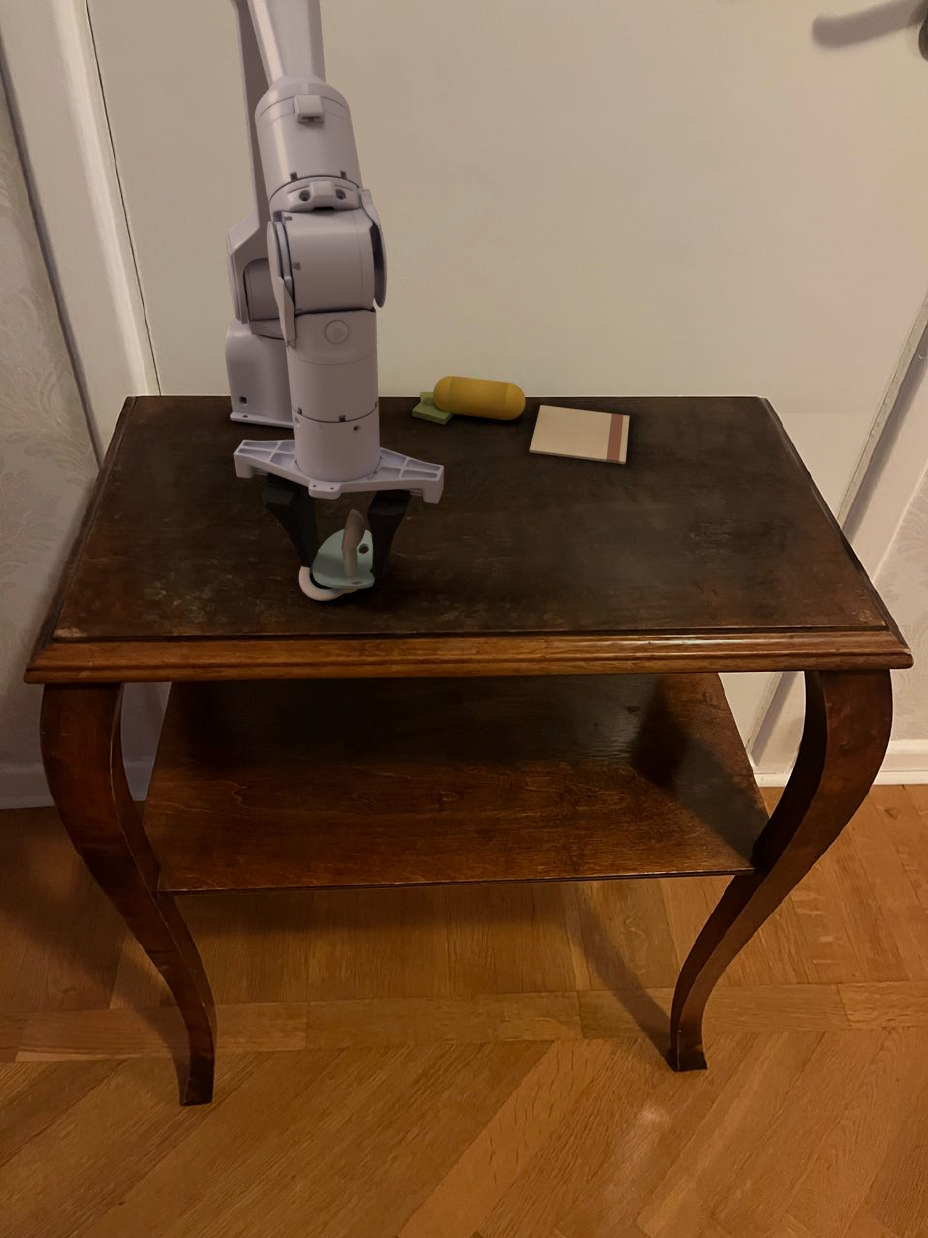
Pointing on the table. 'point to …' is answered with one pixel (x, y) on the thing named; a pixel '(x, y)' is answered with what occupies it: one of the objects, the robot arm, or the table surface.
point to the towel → (581, 434)
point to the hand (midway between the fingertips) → (344, 564)
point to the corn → (470, 400)
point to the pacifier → (341, 562)
